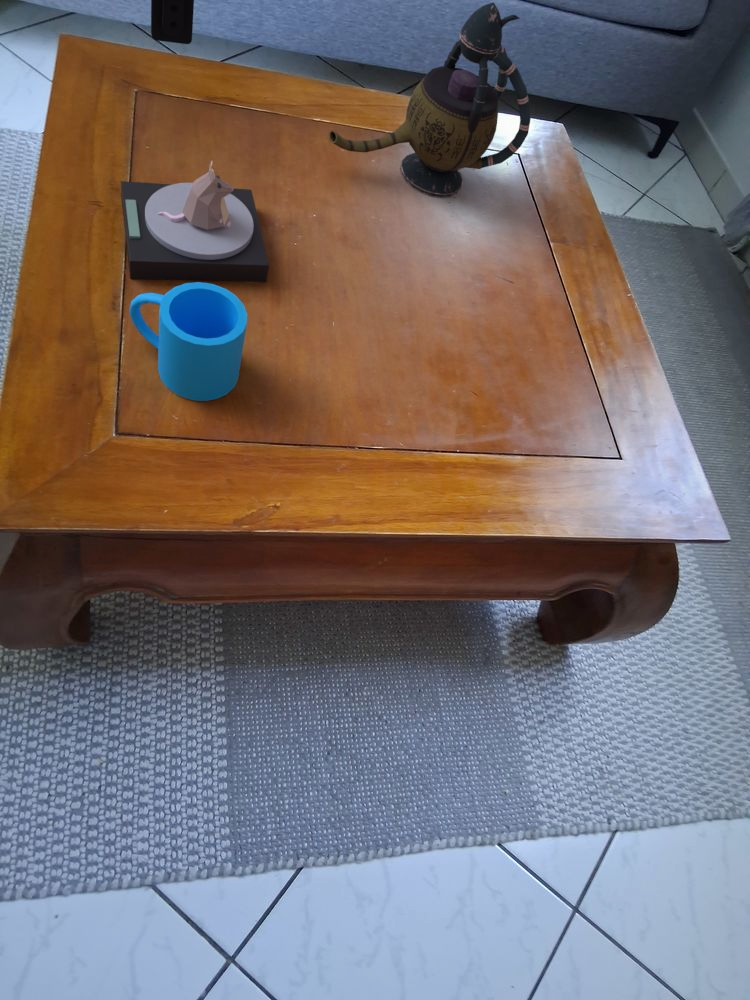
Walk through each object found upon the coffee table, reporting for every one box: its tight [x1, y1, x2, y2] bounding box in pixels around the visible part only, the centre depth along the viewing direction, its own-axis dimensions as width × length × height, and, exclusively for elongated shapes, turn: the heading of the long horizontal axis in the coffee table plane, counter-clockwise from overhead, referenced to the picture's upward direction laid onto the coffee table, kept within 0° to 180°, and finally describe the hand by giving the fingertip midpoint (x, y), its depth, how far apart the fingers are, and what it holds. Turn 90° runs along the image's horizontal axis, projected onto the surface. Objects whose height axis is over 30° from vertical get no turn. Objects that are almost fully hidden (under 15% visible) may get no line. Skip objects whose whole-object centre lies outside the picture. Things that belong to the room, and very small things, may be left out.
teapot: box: [328, 1, 531, 199], centre depth 96 cm, size 12×25×23 cm, turn 107°
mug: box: [128, 281, 248, 402], centre depth 75 cm, size 12×8×8 cm
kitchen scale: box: [120, 180, 270, 283], centre depth 87 cm, size 15×13×3 cm
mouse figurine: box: [158, 159, 235, 230], centre depth 83 cm, size 5×8×7 cm, turn 102°
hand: (165, 7), depth 65 cm, fingers open, 9 cm apart
